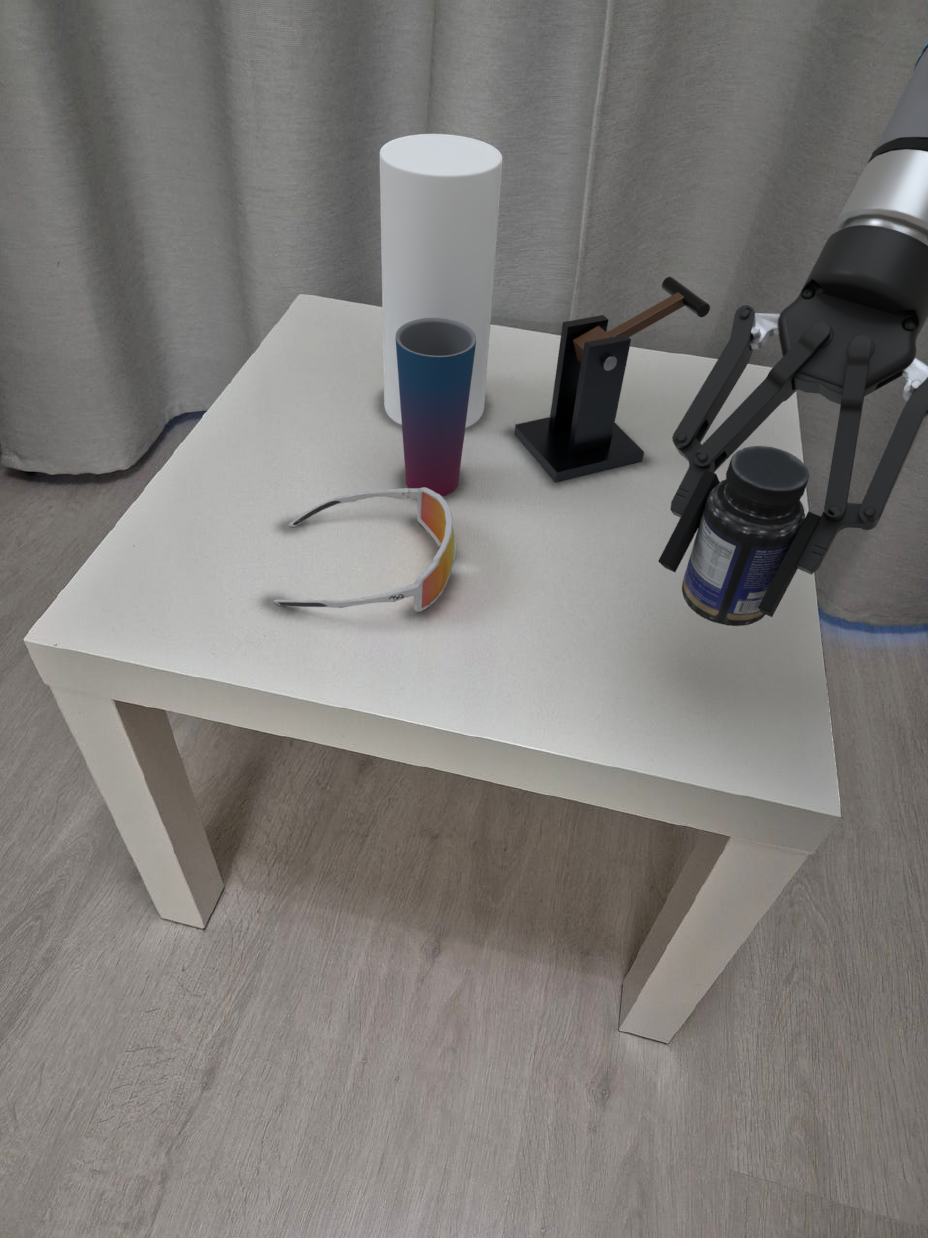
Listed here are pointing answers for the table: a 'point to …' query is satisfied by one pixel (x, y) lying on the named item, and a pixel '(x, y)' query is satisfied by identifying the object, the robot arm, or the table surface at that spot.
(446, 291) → the tall pillar cylinder
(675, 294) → the lever
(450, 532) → the sunglasses
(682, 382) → the table surface
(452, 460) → the cup
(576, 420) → the bracket
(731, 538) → the pill bottle
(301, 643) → the table surface
